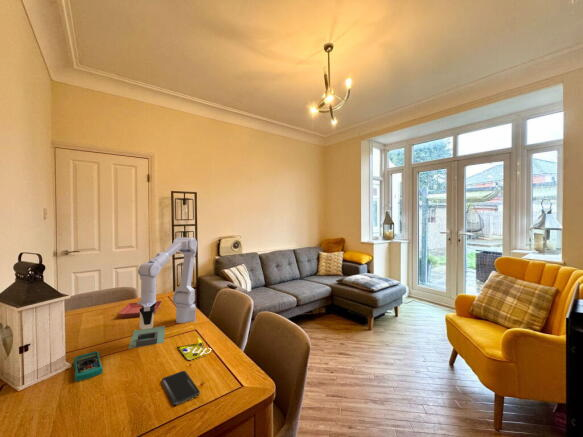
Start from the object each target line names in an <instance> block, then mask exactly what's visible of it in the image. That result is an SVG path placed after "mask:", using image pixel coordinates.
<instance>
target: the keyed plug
mask: <svg viewBox="0 0 583 437" xmlns="http://www.w3.org/2000/svg"><path fill="white" fill-rule="evenodd" d="M153 326H154V315H153V314H152V318H151V323H150V324H149V325H144V321H143V316H142V314H141V312H140V316H139V329H149V328H154V327H153Z"/></svg>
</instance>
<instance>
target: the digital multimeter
mask: <svg viewBox="0 0 583 437" xmlns="http://www.w3.org/2000/svg"><path fill="white" fill-rule="evenodd" d="M73 366H75V367H74V382H75V381H77V382H80V380H81V381H86V380H88V379H91V378H94V377H96V376H99V375H101V374H103V365H102V362H101V359H100V351H92V352H88V353H84V354H80V355H78V356H76V357H74V358H73Z"/></svg>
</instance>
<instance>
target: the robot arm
mask: <svg viewBox="0 0 583 437" xmlns="http://www.w3.org/2000/svg"><path fill="white" fill-rule="evenodd" d="M197 248H198V241H197V239H196V238H195V237H181V236H178V237H176V238H175V239H174V240H173V242H172V243H171V245H170V246H169V247H167V249H165V250H164V251H159V252H157V253H156V255H154V257H152V258H151V259H149V261H147V262H143V263H142V264H141V265H139V268H138V270H137V274H138V275H139V279H140V300H138V301H137V302H136V303H137V304H141V306H142V308H140V312H141V314H142V316H143V321H144V325H149V324H150V323H151V318H152V314H153V312H154V310H155V305H156V301H157V276H159V274H160V271H161V270H162V268H163V267H164V266H165V265H166V264H167V263H169V261H170V258H171V257H172V256H173V255H174V254H176V253H178V252H180V253H181V254H182V255H183V256H184V257H183V263H182V268H181V275H180V282H179V286H178V287H176V288H175V290H174V293H173V295H172V302H173V304H174V305H175V307H176V308H175V322H176V323H178V324H185V323H188V322H189V323H190V322H193V323H196V318H197V315H196V303H195V300H196V294H195V293H196V292H195V291H196V289H194V288H193V287H192V281H193V280H192V279H193V272H194V266H195V265H194V264H195V260H196V258H195V257H196V254H197Z"/></svg>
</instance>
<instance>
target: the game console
mask: <svg viewBox="0 0 583 437" xmlns="http://www.w3.org/2000/svg"><path fill="white" fill-rule="evenodd" d="M202 342H203V341H201V336H200V335H198V336H197V343H192V344H186V345H180V346H176V347H177V348H178V349H177V348H176V349H177V350H178V351H179V353H182V354H183V355H184V356H185V357H184V356H183V355H182V354H181V355H182V356H183V357H184V359H185V360H186V359H187V360H193V361H195V360H194V359H196V360H198V359H197V358H199V357H201V356H204V355H206V354H208V353H210V352H211V350H212V351H213V349H211V348H212V347H211V348H208V349H210V351H209V350H207V348H205V347H206V346H207V345H206V346H205V347H203V346H204V343H202ZM202 344H203V345H202ZM203 348H205V349H203ZM202 351H203V352H202ZM208 351H209V352H208ZM206 352H207V353H206ZM211 353H212V352H211ZM204 357H205V356H204ZM201 358H202V357H201ZM199 359H200V358H199ZM187 360H186V361H187Z"/></svg>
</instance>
